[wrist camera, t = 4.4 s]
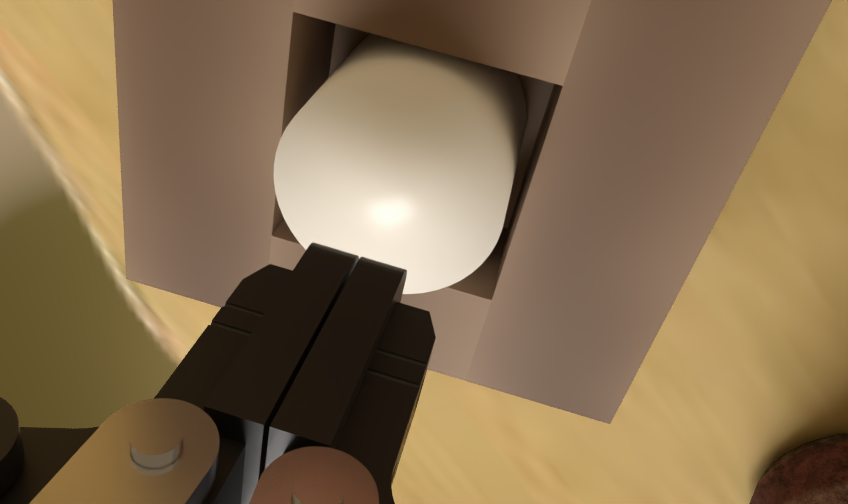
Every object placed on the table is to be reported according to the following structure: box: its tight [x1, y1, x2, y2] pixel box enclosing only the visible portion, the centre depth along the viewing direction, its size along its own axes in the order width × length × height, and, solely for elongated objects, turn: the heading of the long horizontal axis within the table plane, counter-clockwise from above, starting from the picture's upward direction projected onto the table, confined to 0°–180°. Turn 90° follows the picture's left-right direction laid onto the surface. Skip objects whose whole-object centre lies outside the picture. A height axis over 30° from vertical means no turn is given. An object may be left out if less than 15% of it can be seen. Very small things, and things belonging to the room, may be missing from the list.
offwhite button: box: [274, 33, 526, 294], centre depth 15 cm, size 4×4×4 cm
